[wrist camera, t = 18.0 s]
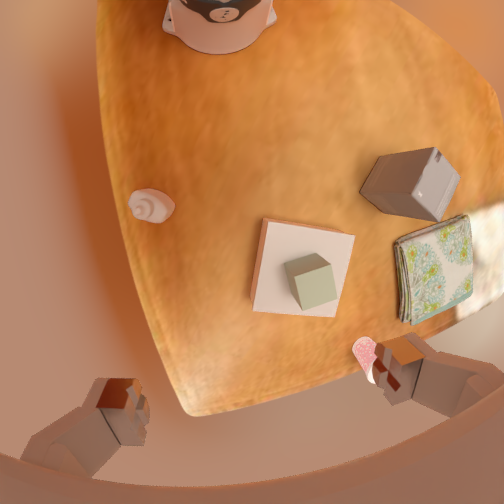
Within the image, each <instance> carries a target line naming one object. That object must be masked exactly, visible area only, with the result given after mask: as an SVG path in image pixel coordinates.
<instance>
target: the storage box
mask: <svg viewBox="0 0 504 504" xmlns="http://www.w3.org/2000/svg"><path fill="white" fill-rule="evenodd" d="M354 238H355V235H352V234H347V233H344V232H342V231H340V230H336V229H330V228H325V227H319V226H313V225H307V224H301V223H295V222H289V221H283V220H276V219H270V218H263V222H262V228H261V234H260V240H259V246H258V251H257V257H256V263H255V269H254V274H253V280H252V286H251V292H250V298H251V301H252V304H253V305H252V311H259V312H270V313H281V314H294V315H308V316H323V317H335V313H336V310H337V306H338V303H339V299H340V296H341V292H342V288H343V284H344V280H345V276H346V272H347V268H348V264H349V260H350V256H351V252H352V247H353V243H354ZM313 253H317V254H319V255H320V256H321V257H322V258H324V259H325V260H326V261H328V262H329V263H330V264H331V266H332V271H333V276H334V281H335V287H336V292H337V298H338V299H336V300H333V301H330V302H327V303H324V304H322V305H319V306H316V307H313V308H310V309H307V310H304V311H302V309H301V308H300V306H299V305H298V303H297V302H296V300H295V298H294V297H293V295H292V294H291V290H290V286H289V282H288V278H287V274H286V270H285V266H284V263H285V262H288V261H291V260H294V259H298V258H301V257H304V256H307V255H310V254H313Z"/></svg>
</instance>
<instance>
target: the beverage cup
mask: <svg viewBox="0 0 504 504" xmlns="http://www.w3.org/2000/svg"><path fill="white" fill-rule="evenodd" d="M375 347H376V343H375V342H374V341H373V340H372V339H370V338H369V337H361V338H360V339H358V340H357V341H356V342H355V343H354V345H353V349H352V351H353V353H354V355H355V357H356V358H357V360H358V361H359V363H360V365H361V366H362V368H363V370H364V371H365V373H366V376H367V379H368V380H369V381H370V382H371V383H374V384H376V383H375V381H374V379H373V375H372V365H373V362H374V361H375V359H376V358H377V356H376V355H375V354H374V351H375Z"/></svg>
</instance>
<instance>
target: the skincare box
mask: <svg viewBox="0 0 504 504" xmlns="http://www.w3.org/2000/svg"><path fill="white" fill-rule="evenodd" d="M460 178H461V177H460V175H459V174H458V173H457V172H456V171H455V169H454V168H453V167H452V166H451V164H450V163H449V162H448V161H447V160H446V158H445V157H444V156H443V155H442V154H441V153H440V151H439V150H438V149H437V148H436V147H432V148H425V149H420V150H414V151H408V152H402V153H396V154H391V155H385V156H380V157H379V159H378V161H377V162H376V164H375V166H374V168H373V170H372V171H371V173H370V175H369V176H368V178H367V180H366V182H365V183H364V185H363V187H362V189H361V190H360V194H362V195H363V196H364V197H365V198H366V199H368V200H369V201H370V202H371V203H372V204H374V205H375V206H376V207H377V208H378V209H380V210H381V211H382V212H383V213H385V214H391V215H398V216H404V217H410V218H416V219H422V220H428V221H433V222H440V220H441V218H442V216H443V214H444V212H445V210H446V208H447V206H448V204H449V202H450V200H451V198H452V196H453V194H454V191H455V189H456V187H457V185H458V182H459V180H460Z"/></svg>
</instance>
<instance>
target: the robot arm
mask: <svg viewBox="0 0 504 504" xmlns="http://www.w3.org/2000/svg"><path fill="white" fill-rule="evenodd" d="M272 3H273V0H169V2H168V6H167V9H166V13H165V16H164V20H163V24H162V27H163V30H164V31H165V32H167V33H169V34H172V35H175V36H177V37H179V38H180V39H181V40H182V41H183V42H184V43H185V44H186V45H188V46H189V47H191V48H193V49H195V50H197V51H200V52H203V53H208V54H227V53H232V52H236V51H239V50H241V49H243V48H245V47H247V46H249V45H250V44H252V43H253V42H254V41H255V40H256V39H257V38H258V37H259V35H260V34H261V32H262V31H263V30H264V29H266V28H268V27H270V26H271V25H273V24H274V23H275V22H276V20H277V16H276V13H275V11H274V9H273V7H272ZM169 20H171V21H169ZM374 354H375V355H376V356H377V358H376V359H375V361H374V362H373V365H372V375H373V379H374V381H375V383H376V385H377V386H378V387H380V388H383V389H385V390H384V396H385V397H386V398H387V400H388V401H389V402H390V404H391V405H395V404H398V403H401V402H404V401H406V400H409V399H412V400H414V401H416V402H418V403H420V404H422V405H424V406H426V407H429V408H430V409H433V410H435V411H437V412H439V413H441V414H443V415H445V416H448V417H450V419H448V420H446V421H444V422H442V423H440V424H439V425H437V426H435V427H433V428H431V429H429V430H427V431H425V432H423V433H420V434H418V435H416V436H414V437H412V438H410V439H407V440H405V441H403V442H401V443H398V444H396V445H393V446H391V447H388V448H386V449H383V450H381V451H378V452H375V453H373V454H370V455H367V456H364V457H361V458H358V459H355V460H352V461H349V462H345V463H342V464H339V465H336V466H332V467H328V468H324V469H320V470H317V471H313V472H308V473H304V474H299V475H295V476H289V477H284V478H279V479H272V480H266V481H260V482H251V483H243V484H233V485H220V486H199V487H168V486H148V485H134V484H125V483H117V482H110V481H103V480H97V479H92V476H93V475H94V474H95V473H96V472H97V471H98V470H99V469H100V468H101V467H102V466H103V465H104V464H105V463H106V462H107V460H109V459H110V458H111V457H112V455H113V454H114V453H115V452H116V451H117V450H118V449H119V448H120V447H121V446H120V445H125V446H144V442H145V438H146V433H147V432H146V430H145V428H144V426H145V425H146V424H148V423H149V418H150V410H149V405H148V402H147V399H146V397H145V396H144V395H142V394H141V390H142V386H141V384H140V382H139V380H138V379H136V378H97V379H95V381H94V383H93V385H92V387H91V389H90V391H89V393H88V395H87V397H86V399H85V401H84V403H83V405H82V407H77V408H75V409H74V410H72V411H71V412H69V413H68V414H66V415H64V416H63V417H61V418H60V419H58V420H57V421H55V422H54V423H52V424H50V425H49V426H47V427H46V428H44V429H43V430H41V431H39V432H38V433H36V434H35V435H33V436H32V437H31V439H30V440H29V442H28V444H27V446H26V448H25V450H24V452H23V454H22V456H21V458H20V460H19V459H16V458H13V457H11V456H8V455H6V454H3V453H0V504H504V373H503V372H502V371H501V370H499V369H498V368H497V367H496V366H494V365H493V364H491V363H487V362H482V361H477V360H473V359H469V358H465V357H461V356H457V355H452V354H448V353H444V352H438V353H437V352H436V351H435V350H434V349H433V348H431V347H430V346H429V345H428V344H427V343H426V342H425V341H423V340H422V339H421V338H420V337H419V336H417V335H416V334H415V333H412V332H411V333H408V334H405V335H402V336H400V337H397V338H394V339H391V340H387V341H384V342H380V343H377V344H376V347H375V351H374Z"/></svg>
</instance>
